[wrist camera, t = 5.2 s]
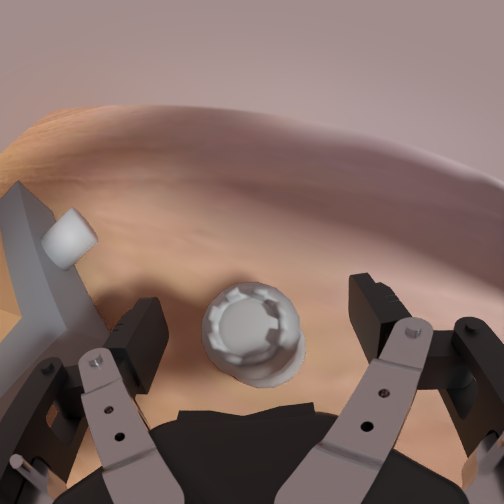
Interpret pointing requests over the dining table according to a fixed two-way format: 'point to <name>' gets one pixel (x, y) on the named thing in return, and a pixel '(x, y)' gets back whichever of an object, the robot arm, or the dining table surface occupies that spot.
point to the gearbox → (42, 290)
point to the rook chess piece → (254, 335)
